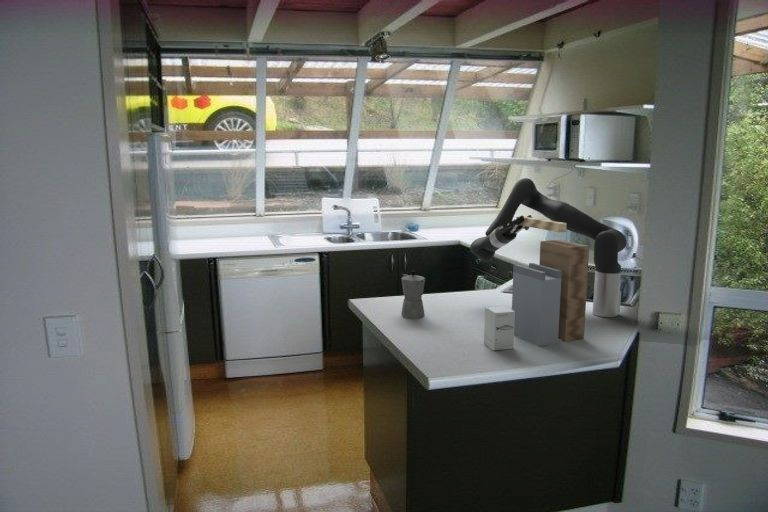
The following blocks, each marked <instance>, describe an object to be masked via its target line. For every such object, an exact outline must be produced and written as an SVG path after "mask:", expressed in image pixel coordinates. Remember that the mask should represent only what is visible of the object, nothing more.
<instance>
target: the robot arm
mask: <svg viewBox="0 0 768 512" xmlns="http://www.w3.org/2000/svg"><path fill="white" fill-rule="evenodd" d="M521 205H523V206H525V207H526V208H528V209H531V210H533V211H536V212H538V213H540V215H543V217H545V218H547V219H548V220H550V221H556V222H562V223H567V224H566V231H569V232H572V233H575V234H579V235H583V236H584V237H587V238H590V239H591V240H593V241H594V244H593V263H594V267H595V268H594V270H595V271H594V285H593V301H592V314H593V315H595V316H597V317H602V318H616V317H617V316H620V315H621V314H620V313H621V303H622V302H621V300H622V290H620V288H621V272H622V266H621V265H622V264H620V263H619V261H618V260H619V257H618V256H619V254H618V253H621V252H622V251H623V250H624V249H626V246H627V243H628V242H627V238H626V236H625V235H624V234H623V232H622V231H620V230H618V229H616V228H614V227H611V226H609V225H606V224H604V223H602V222H600V221H598V220H596V218H595V219H594V218H593V217H592V216H590V215H588V214H586V213H584V211H582V210H579V209H578V208H576V207H575V206H573V205H571V204H569V203H567V202H565V201H561V200H555V199H552V198H549V197H547V196H545V195H544V194H542V193H541V192H540V191H539V190H538V189H537V187H536V184H535V183H534V181H533V180H532V179H530V178H527V177H524V178H520V179H519V180H517V182H516V183H514V185H513V187H512V189H511V190H510V193H509V195H508V197H507V199H506V201H504V204H503V206H502V208H501V209H500V211H499V213H498V214H497V215H496V217H495V219H494V220H493V221H492V223H491V224H490V225H489V227H488V228H487V229H486V231H485V233H484V234H485V236H482V237H479V238H476V239H474V240H473V241H472V242H471V244H470V246H469V250H470V252H471V253H472V254H473V255H475V257H477V258H478V259H480V260H481V261H483V262H484V263H488V262H490V261H491V260H492V259H493V258H494V256H495V254H496V251H498V250H499V249H501V248H503V247H505V246H506V245H508V244H509V243H511V242H512V241H514V240H515V239H516V237H517V235H518V233H520V232H521V231H523V230H525V231H529V229H530V228H531V227H527V226H522V225H519V224H521V223H522V222H523V221H524V215H520V217H519V218H517V219H516V218H515V219H514V217H515V215H516V213H517V211H518V208H519V207H520V206H521ZM526 217H531V218H533V217H532V215H531V214H528V216H527V215H526Z"/></svg>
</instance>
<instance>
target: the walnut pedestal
mask: <svg viewBox="0 0 768 512" xmlns="http://www.w3.org/2000/svg"><path fill="white" fill-rule="evenodd" d="M589 256H590V245H587V244H583V243H578V242H571V241H567V240H561V239H554V240H552V239H551V240H540V245H539V261H538V262H539V264H538V265H542V266H546V267H549V268H553V269H557V270H561V271H562V275H561V294H560V313H559V332H558V340H560V341H562V342H565V343H567V342H573V341H579V340H584V339H585V325H586V324H585V323H586V309H587V307H586V306H587V296H588V295H587V293H588V292H587V291H588V279H589V277H588V275H589V260H590V259H589V258H590V257H589Z"/></svg>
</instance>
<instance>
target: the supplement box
mask: <svg viewBox="0 0 768 512" xmlns="http://www.w3.org/2000/svg"><path fill="white" fill-rule="evenodd" d="M514 326H515V311H513V310H512V308H509V307H507V306H505V305H503V306H491V307H484V328H483V329H484V331H483V344H484V345H485V346H486V347H488V348H489V349H490V350H492V351H499V350H500V351H501V350H502V351H503V350H511V349H512V350H513V349H514V346H515V345H514V343H515V335H514Z"/></svg>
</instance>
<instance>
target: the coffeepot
mask: <svg viewBox="0 0 768 512" xmlns="http://www.w3.org/2000/svg"><path fill="white" fill-rule="evenodd" d="M410 272H411V273H410V275H408V274H405V273H401V274H400V275H399V279H398V280H399V283H400V289H401V293H402V294H403V295H404V299H403V301H402V308H401V312H400V313H401V316H402V317H403V318H405V319H410V318H411V319H414V318H416V319H421V317H422V318H423V317H424V316H425V315H426V314H425V310H424V309H425V308H424V304H423V299H422V296H423V294H424V290H425V289H424V288H425V283H426V278H425V277H424V276H421V275H416V274H415V273H416V270H414V269H413V270H411V271H410ZM414 320H415V319H414Z"/></svg>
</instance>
